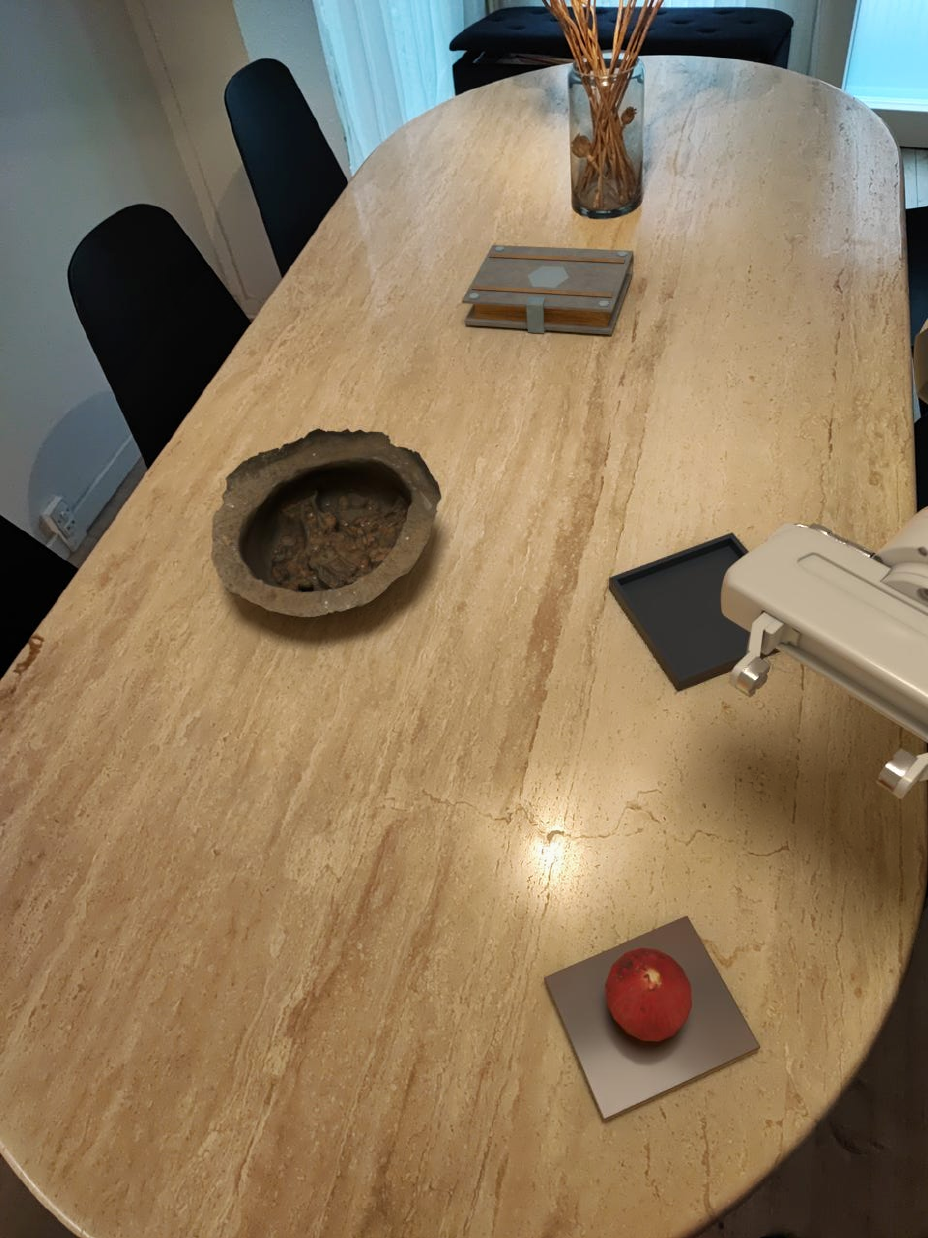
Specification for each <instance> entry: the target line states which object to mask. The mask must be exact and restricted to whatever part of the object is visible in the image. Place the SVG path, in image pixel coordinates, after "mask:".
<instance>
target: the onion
mask: <svg viewBox="0 0 928 1238" xmlns="http://www.w3.org/2000/svg"><path fill="white" fill-rule="evenodd" d="M605 989H606V1000H607V1005H608V1007H609V1009H610V1011H611V1013H612V1016H613V1018H614V1020H615V1021H616V1022H617V1023H618V1024H619V1025H620V1026H621V1027H622V1028H623V1029H624V1030H625V1031H626V1032H627V1033H628V1034H630V1035H632V1036H634V1037H636V1038H639V1039H641V1040H644V1041H658V1042H659V1041H661V1040H664V1039H666V1038H669V1037H671V1036H673V1035H674V1034H675V1033H676V1032H677V1031H678V1030H679V1029H680V1028H681V1027H682V1026H683V1025H684V1024H685V1023H686V1021H687V1019H688V1016H689V1013H690V1010H691V1007H692V996H691V984H690V982H689V980H688V978H687V976H686V974H685V972H684V970H683V968H682V967H681V966H680V965H679V964H678V963H677V962H676V961H675V960H674V959H673V958H672V957H671V956H669V955H667V954H665V953H663V952H661V951H659V950H658V949H650V948H638V949H635V950H632V951H629V952H626V953H624V954H623V955H622V956H621V957H620V958H619V959H618V960H617V961H616V962H615V963H614V964H613V965H612V966H611V969H610V972H609V975H608V978H607V981H606V984H605Z"/></svg>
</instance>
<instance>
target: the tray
mask: <svg viewBox="0 0 928 1238" xmlns="http://www.w3.org/2000/svg"><path fill="white" fill-rule="evenodd" d="M749 552H750V551H749V550H748V549H747V547H746V546H745V545H744V544H743V543H742V542H741V540H740V539H739V538H738V537H737V536H736V535H735V534H734V532H733V531H732V532H729V533H726V534H724V535H721V536H719V537H716V538H713V539H710V540H707V541H704V542H701V543H699V544H697V545H694V546H691V547H688V548H686V549H682V550H680V551H678V552H674V553H672V554H669V555H667V556H664V557H661V558H659V559H656V560H653V561H651V562H647V563H644V564H642V565H640V566H637V567H634V568H632V569H629V570H627V571H623V572H621V573H618V574H615V575H612V576H610V577H608V590H609V591H610V593H611V594H612V596H613V597H614V598H615V600H616V602H617V603H618V604H619V606H620V608H621V609H622V610H623V612H624V614H625V615H626V617H627V618H628V619H629V621H630V622H631V625H633V627H634V628H635V630H636V631H637V633H638V634H639V636H640V638H641V639H642V640H643V642H644V644H645V645H646V647H647V649H649V651H650V652H651V654H652V655H653V657H654V658H655V660H656V661H657V663H658V665H659V666H660V668H661V669H662V671H663V672H664V673H665V675H666V677H667V678H668V679H669V681H670V682H671V684H672V686H673V687H674V688H675V690H676V692H681V691H683V690H686V689H688V688H691V687H693V686H696V685H698V684H701V683H703V682H706V681H709V680H711V679H713V678H716V677H719V676H721V675H724V674H726V673H729V672H731V671H732V670H733V668H734V667H735V666H736V665H737V664H738V663H739V662H740V661H741V660H742V659H743V658H744V657H745V656H746V652H747V645H748V640H749V636H750V632H749V631H747V630H746V629H744V628H742V627H741V626H739V625H738V624H736V623H734V622H733V621H731V620H730V619H728V618H727V617H725V616H724V615H723V613H722V608H721V589H722V584H723V580H724V577H725V574H726V572H727V570H728V569H729V568H730V567H731V566H732V565H733V564H734V563H735V562H737V561H738V560H739V559H740V558H742V557H743V556H744V555H746V554H747V553H749ZM780 652H781V651H779V650H778V649H776V648H774V649H773V650H772V651H771V652H770V653H769V654H768V655H765V654H763V653H762V652H760V658H761V659H765V658H767V657H769V656H772V655H775V654H777V653H780Z"/></svg>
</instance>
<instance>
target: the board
mask: <svg viewBox="0 0 928 1238" xmlns="http://www.w3.org/2000/svg"><path fill="white" fill-rule="evenodd" d="M700 937H701V936H700V935H699V934H698V932H697V930H696V928H695V926H694V924H693V923H692V921H691V919H690V918H689V916H688V915H685V916H683V917H680V918H677V919H676V920H673V921H671V922H669V923H666V924H664V925H661V926H659V927H657V928H655V929H653V930H651V931H650V930H649V931H648V932H646V933H643V934H641V935H638V936H637V937H634V938H631V939H629V940H627V941H625V942H623V943H620V944H618V945H615V946H613V947H610V948H609V949H607V950H604V951H602V952H600V953H597V954H595V955H592V956H591V957H588V958H586V959H583V960H581V961H579V962H577V963H574V964H572V965H569V966H568V967H565V968H563V969H560V970H558V971H556V972H554V973H551V974H549V975H547V976H544V977H543V981H544V985H545V987H546V989H547V992H548V994H549V996H550V997H549V998H550V999H551V1002H552V1004H553V1006H554V1009H555V1011H556V1014H557V1017H558V1018H559V1021H560V1023H561V1025H562V1029H563V1030H564V1032H565V1035H566V1037H567V1040H568V1042H569V1045H570V1047H571V1049H572V1052H573V1054H574V1056H575V1059H576V1061H577V1063H578V1065H579V1066H578V1067H579V1068H580V1071H581V1073H582V1076H583V1078H584V1080H585V1083H586V1085H587V1087H588V1089H589V1092H590V1094H591V1097H592V1099H593V1101H594V1103H595V1106H596V1110H597V1111H598V1113H599V1116H600V1118H601V1120H602V1122H603V1124H605V1123H607V1122H609V1121H611V1120H614V1119H616V1118H618V1117H620V1116H623V1115H625V1114H627V1113H629V1112H631V1111H633V1110H635V1109H638V1108H640V1107H641V1106H644V1105H646V1104H649V1103H650V1102H652V1101H654V1100H657V1099H659V1098H661V1097H663V1096H665V1095H667V1094H671V1092H674V1091H677V1090H678V1089H680V1088H683V1087H685V1086H687V1085H690V1084H691V1083H693V1082H695V1081H697V1080H700V1079H702V1078H704V1077H706V1076H709V1075H711V1074H713V1073H715V1072H717V1071H719V1070H722V1069H724V1068H726V1067H728V1066H730V1065H732V1064H734V1063H736V1062H739V1061H741V1060H743V1059H745V1058H747V1057H750V1056H752V1055H754V1054H756V1053H758V1052H759V1051H760V1049H761V1044H760V1043H759V1042H758V1040H757V1038H756V1036H755V1034H754V1033H753V1030H752V1029H751V1027H750V1025H749V1024H748V1022H747V1019H746V1018H745V1017H744V1015H743V1013H742V1011H741V1009H740V1007H739V1006H738V1003H737V1002H736V1001H735V999H734V996H733V994H732V993H731V991H730V989H729V987H728V986H727V984H726V983H725V981H724V979H723V977H722V975H721V973H720V972H719V969H718V967H717V966H716V964H715V961H713V959H712V957H711V956H710V953H709V952H708V950H707V948H706V946H705V944H704V943H703V941H702V939H701V938H700ZM638 948H650V949H658V950H659V951H661V952H663V953H665V954H667V955H669V956H671V957H672V958H673V959H674V960H675V961H676V962H677V963H678V964H679V965H680V966H681V967H682V968H683V970H684V972H685V974H686V976H687V978H688V980H689V982H690V984H691V996H692V1007H691V1010H690V1013H689V1016H688V1019H687V1021H686V1023H685V1024H684V1025H683V1026H682V1027H681V1028H680V1029H679V1030H678V1031H677V1032H676V1033H675V1034H674V1035H673V1036H671V1037H669V1038H666V1039H664V1040H661V1041H659V1042H658V1041H644V1040H641V1039H639V1038H636V1037H634V1036H632V1035H630V1034H628V1033H627V1032H626V1031H625V1030H624V1029H623V1028H622V1027H621V1026H620V1025H619V1024H618V1023H617V1022H616V1021H615V1020H614V1018H613V1016H612V1013H611V1011H610V1009H609V1007H608V1005H607V1000H606V989H605V984H606V981H607V978H608V975H609V972H610V969H611V966H612V965H613V964H614V963H615V962H616V961H617V960H618V959H619V958H620V957H621V956H622V955H623V954H624V953H626V952H629V951H632V950H635V949H638Z"/></svg>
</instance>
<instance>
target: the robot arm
mask: <svg viewBox="0 0 928 1238" xmlns="http://www.w3.org/2000/svg"><path fill="white" fill-rule="evenodd" d="M913 377H914V379H913V380H914V387H915V394H916V396H917V397H918V398H919V399H920V400H922V401H923V402H924V403H925V404H926V405H928V318H927V319H926V320H925V322H924V324H923V326H922V327H921V329H920V331H919V332H918V333H917V334H916V335H915V338H914V345H913ZM721 608H722V613H723V615H724V616H725V617H727V618H728V619H730V620H731V621H733V622H734V623H736V624H738V625H739V626H741V627H742V628H744V629H746V630H747V631H749V632H750V636H749V640H748V645H747V652H746V656H745V657H744V658H743V659H742V660H741V661H740V662H739V663H738V664H737V665H736V666H735V667H734V668H733V670H731V671H730V674H729V679H728V684H729V685H730V686H731V687H733V688H734V689H735V690H738V691H739V692H740V693H742V694H743V695H745V696H746V697H748V698H752V697H753V696H754V695H755V694H756V691H757V690H761V688H762V687H763V686H764V685H765V684H766V683H767V681H768V677H769V675H768V673H770V670H771V666H772V665H771V664H770V663H769V662H767V661H766V660H764V658H762V659H761V658H760V652H762V653H763V654H765V655H768V654H769V653H770V652H771V651H772V650H773V649H774V648H776V649H778V650H779V651H780V652H781V653H783V654H784V655H786V656H788V657H789V658H790V659H792V660H793V661H795V662H797V663H799V664H800V665H801V666H803V667H805V668H807V669H808V670H810V671H812V673H815V674H816V675H818V676H819V677H821V678H823V679H824V680H826V681H827V682H829V683H831V684H832V685H834V686H835V687H837V688H839V689H840V690H842V691H844V692H845V693H847V694H849V696H852V697H853V698H854V699H856V700H858V701H859V702H861V703H862V704H865V705H866V706H867V707H869V708H871V709H872V710H874V711H876V712H877V713H879V714H880V715H882V716H883V717H885V718H887V719H889V721H892V722H893V723H895V724H896V725H898V726H900V727H901V728H903V729H904V730H906V731H908V732H909V733H910V734H913V735H914V736H916V737H917V738H919V739H921V740H922V741H924V742H925V743H927V744H928V506H925V507H924V508H922V509H921V510H919V511H918V512H917V513H915V514H914V515H913V516H911V518H909V520H907V522H906V523H905V524H903V526H901V527H900V529H898V531H896V532H895V533H894V534H893V535H892V536H891V537H890V538H889V540H887V542H885V543H884V544H883V545H882V546H881V547H880V548H879V549H878V550H877V551H876V552H875V551H872V550H870V549H868V548H867V547H866V546H862V545H860V544H859V543H857V542H855V541H852V540H850V539H847V538H845V537H842V536H840V535H838V534H836V533H834V532H833V531H832V530H831V529H829V528H828V527H826V526H824V525H822V524H819V523H811V524H810V525H808V524H804V523H793V522H786V523H783V524H782V525H780V526H779V527H778V528H777V529H775V530H774V531H773V532H772V533H771V534H770V535H769V536H768V537H767V538H766V539H765V540H764V542H762V543H761V544H759V545H757V546H756V547H754V548H753V549H752V550H750V551H749V553H747V554H746V555H744V556H743V557H742V558H740V559H739V560H738V561H737V562H735V563H734V564H733V565H732V566H731V567H730V568H729V569H728V570H727V572H726V574H725V577H724V580H723V584H722V589H721ZM917 781H918V782H920V783H921V782H923V781H928V752H925V753H922V754H918V755H914V754H912V753H910V752H908V751H907V750H905V749H903V748H902V747H900V748H899V749H898V750H897V752H896V753H895V754H894V755H893V757H892V758H891V760H889V761H888V762H887V763H886V764H885V765H884V766H883V768H882V770H881V771H880V773H879V775H878V777H877V779H876V780H875V783H876V784H878V785H879V786H880V787H881V788H883V789H884V790H886V791H887V792H889V793H891V794H892V795H894V796H895V797H896V798H898V799H899V800H902V799H903V798H904V797H905V796H906V795H907V793H909V791H910V790H911V789H912V787H913V786H914V785H915V784H916V782H917Z"/></svg>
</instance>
